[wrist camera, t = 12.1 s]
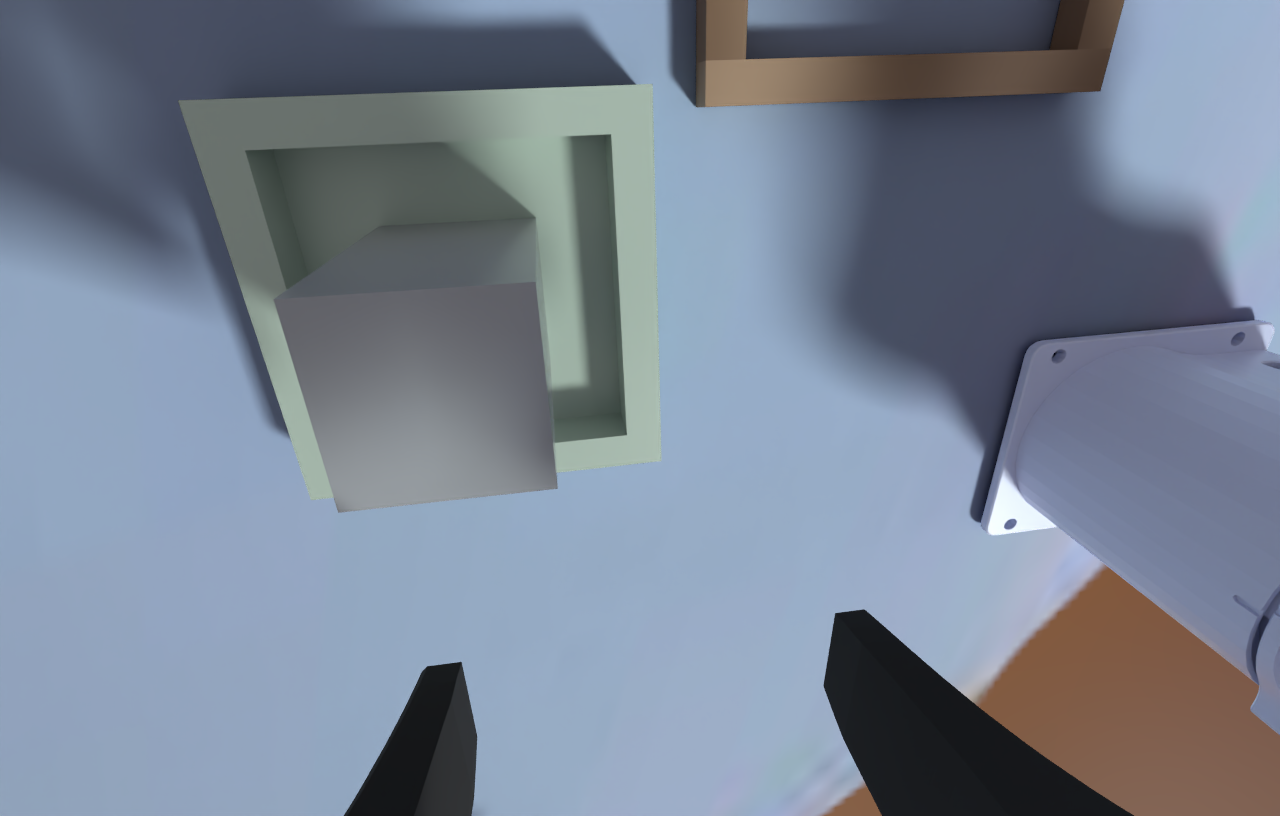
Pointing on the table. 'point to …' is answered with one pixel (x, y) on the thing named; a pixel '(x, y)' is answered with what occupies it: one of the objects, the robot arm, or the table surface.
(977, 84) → the walnut frame
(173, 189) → the table surface
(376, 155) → the sage tray
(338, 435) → the stone block
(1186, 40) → the table surface
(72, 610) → the table surface
